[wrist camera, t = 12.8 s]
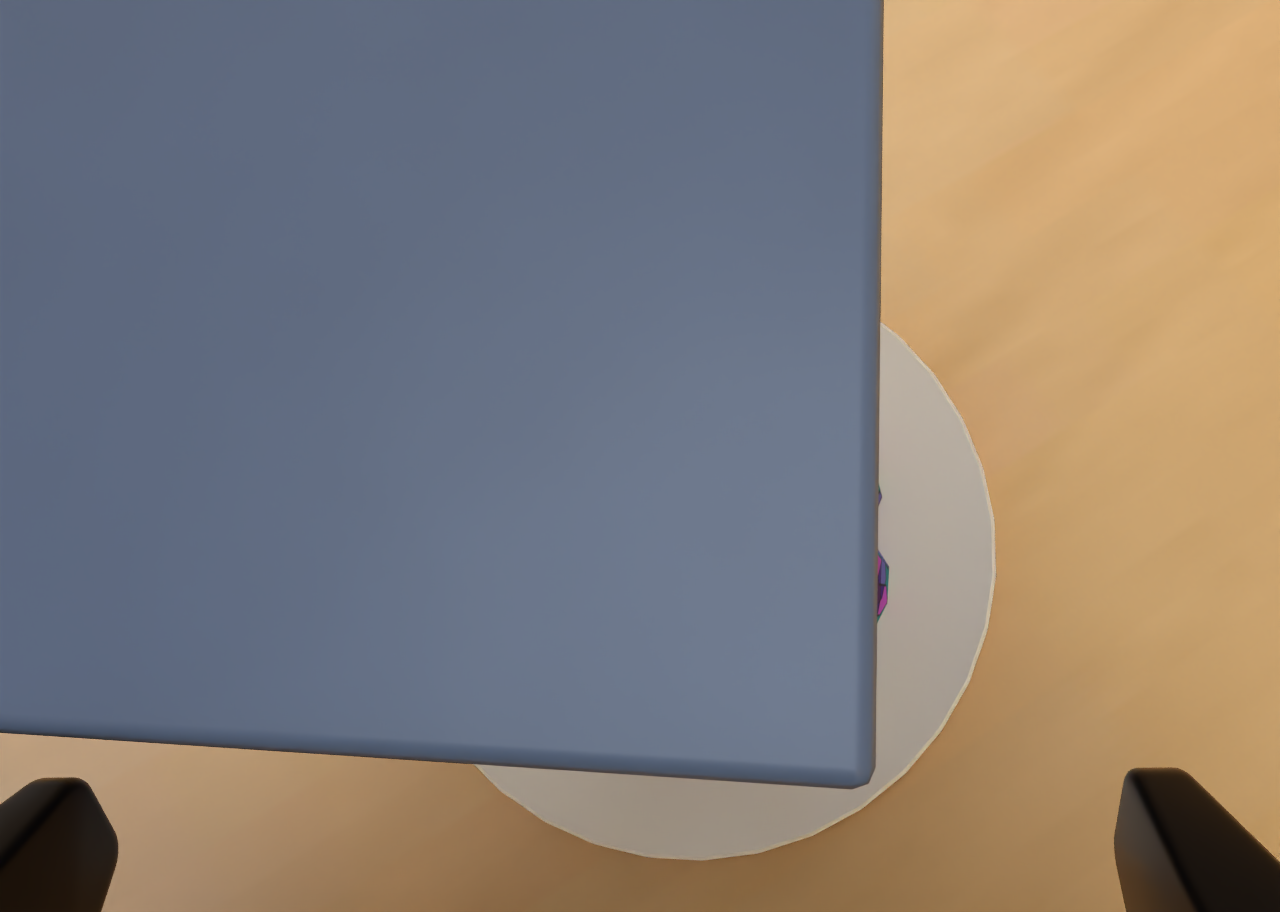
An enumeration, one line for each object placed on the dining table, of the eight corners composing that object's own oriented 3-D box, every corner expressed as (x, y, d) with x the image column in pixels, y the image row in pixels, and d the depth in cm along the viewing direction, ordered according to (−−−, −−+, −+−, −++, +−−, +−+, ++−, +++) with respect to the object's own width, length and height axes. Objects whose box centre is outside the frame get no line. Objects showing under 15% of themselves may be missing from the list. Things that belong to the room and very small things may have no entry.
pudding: (1087, 410, 22) (1172, 325, 17) (830, 975, 21) (840, 1063, 16) (568, 190, 25) (508, 60, 20) (306, 678, 23) (169, 672, 18)
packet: (819, 723, 17) (883, 798, 4) (531, 706, 17) (-168, 726, 5) (827, 339, 18) (893, -497, 5) (557, 336, 19) (57, -417, 6)
